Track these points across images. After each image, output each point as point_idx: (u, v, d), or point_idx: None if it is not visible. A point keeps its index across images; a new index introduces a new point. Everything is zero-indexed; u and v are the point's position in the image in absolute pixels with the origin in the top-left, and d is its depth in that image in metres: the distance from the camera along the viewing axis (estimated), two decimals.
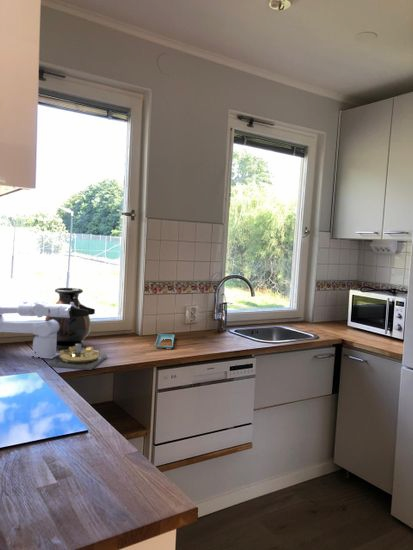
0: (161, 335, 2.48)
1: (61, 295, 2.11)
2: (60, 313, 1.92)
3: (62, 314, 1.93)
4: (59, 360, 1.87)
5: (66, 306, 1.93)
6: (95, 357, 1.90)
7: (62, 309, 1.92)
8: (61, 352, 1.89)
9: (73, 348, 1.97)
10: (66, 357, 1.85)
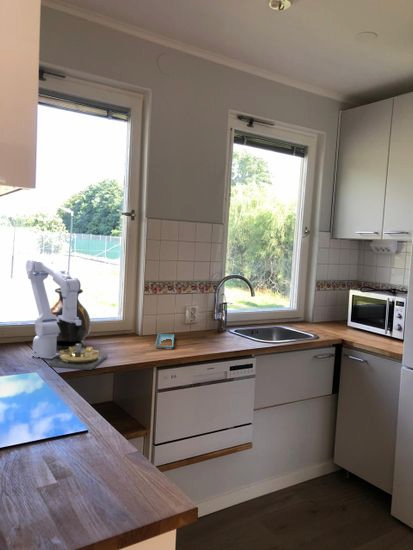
0: (161, 335, 2.47)
1: (61, 295, 2.11)
2: (71, 310, 1.84)
3: (70, 312, 1.84)
4: (59, 360, 1.87)
5: (76, 314, 1.87)
6: (95, 357, 1.90)
7: (75, 312, 1.85)
8: (61, 352, 1.89)
9: (73, 348, 1.97)
10: (66, 357, 1.85)
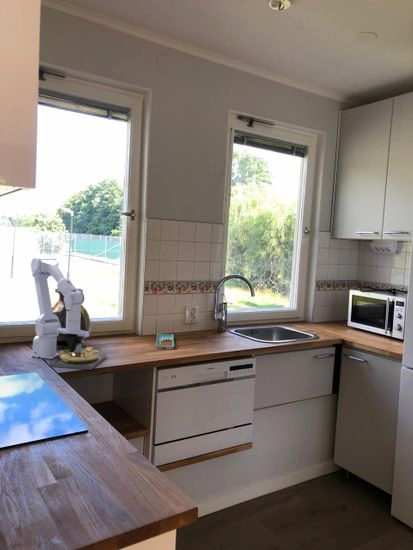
0: (160, 335, 2.47)
1: (61, 295, 2.11)
2: (78, 323, 1.84)
3: (76, 324, 1.84)
4: (59, 360, 1.87)
5: None
6: (95, 357, 1.90)
7: (79, 324, 1.86)
8: (61, 352, 1.89)
9: None
10: (66, 357, 1.85)
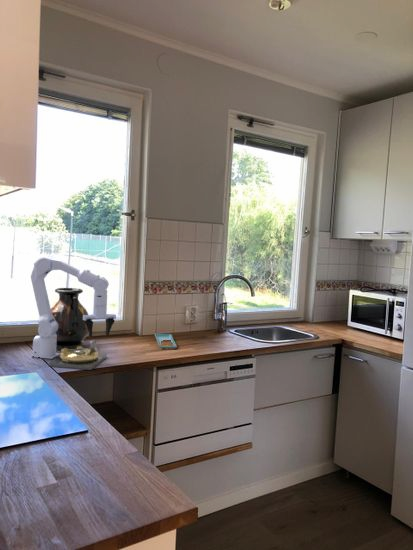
0: (157, 335, 2.47)
1: (61, 295, 2.11)
2: (106, 307, 1.98)
3: (106, 309, 1.97)
4: (59, 360, 1.87)
5: None
6: None
7: None
8: (82, 356, 1.85)
9: None
10: (95, 356, 1.89)
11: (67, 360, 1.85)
